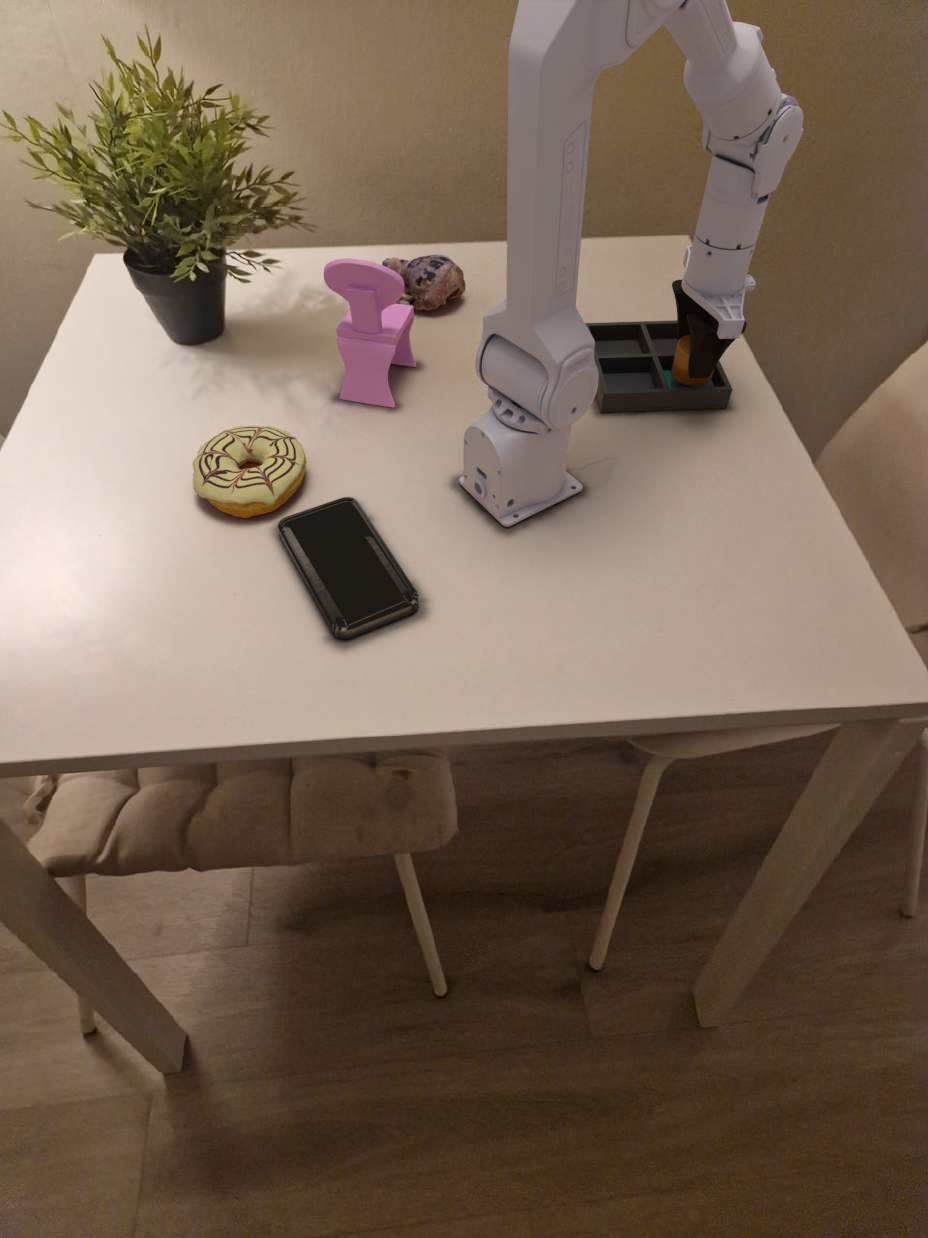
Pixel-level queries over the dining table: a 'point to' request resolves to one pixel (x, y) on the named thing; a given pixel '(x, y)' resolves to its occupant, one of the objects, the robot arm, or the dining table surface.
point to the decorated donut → (249, 470)
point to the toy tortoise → (428, 280)
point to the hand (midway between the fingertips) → (693, 363)
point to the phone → (347, 567)
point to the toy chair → (370, 328)
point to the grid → (648, 370)
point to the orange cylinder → (685, 364)
